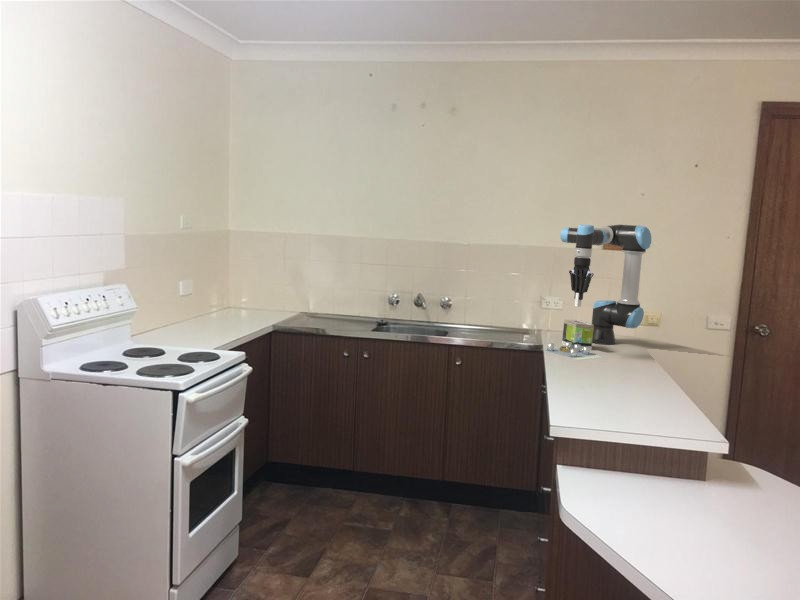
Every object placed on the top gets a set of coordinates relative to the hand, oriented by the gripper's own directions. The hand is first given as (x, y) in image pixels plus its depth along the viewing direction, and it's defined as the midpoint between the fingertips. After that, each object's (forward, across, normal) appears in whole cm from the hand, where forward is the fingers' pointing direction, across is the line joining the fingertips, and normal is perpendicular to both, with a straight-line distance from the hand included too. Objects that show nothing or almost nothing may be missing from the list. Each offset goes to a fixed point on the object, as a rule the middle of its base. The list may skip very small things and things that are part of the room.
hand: (577, 306), depth 320 cm
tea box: (+25, -11, +16) cm, 32 cm away
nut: (+23, -5, 0) cm, 24 cm away
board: (+24, 0, 0) cm, 24 cm away
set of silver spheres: (+23, -2, 0) cm, 23 cm away
